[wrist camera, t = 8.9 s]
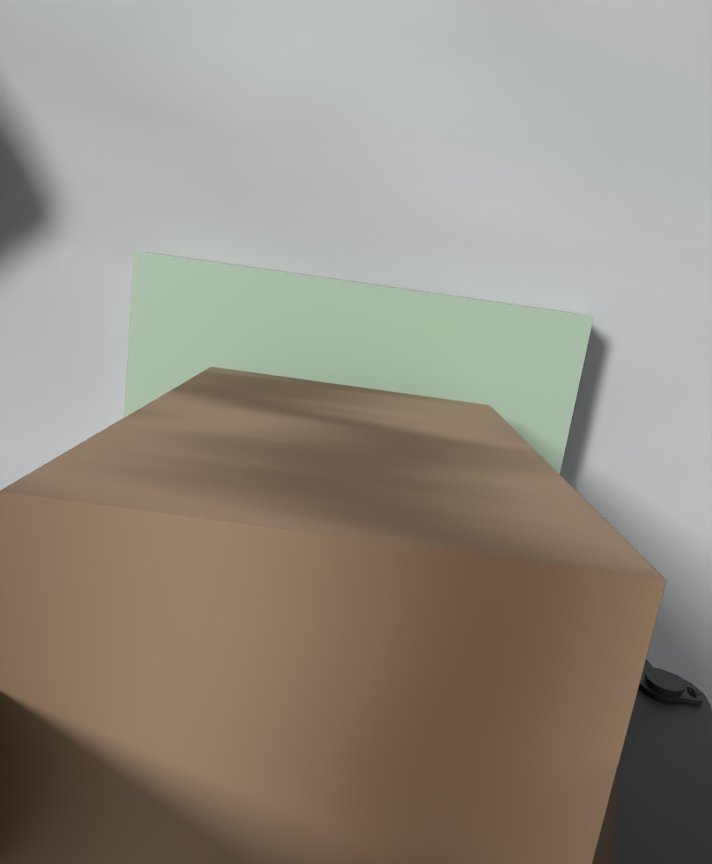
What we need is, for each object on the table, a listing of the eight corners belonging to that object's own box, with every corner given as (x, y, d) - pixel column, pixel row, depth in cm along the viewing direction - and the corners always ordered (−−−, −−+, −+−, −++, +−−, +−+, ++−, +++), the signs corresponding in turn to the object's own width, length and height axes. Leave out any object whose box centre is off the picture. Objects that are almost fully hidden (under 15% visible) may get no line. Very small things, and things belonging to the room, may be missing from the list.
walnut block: (187, 621, 18) (-12, 1016, 8) (210, 366, 17) (-1, 491, 7) (443, 655, 18) (536, 1080, 9) (490, 405, 17) (665, 580, 7)
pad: (122, 644, 21) (107, 666, 20) (149, 252, 18) (134, 251, 17) (499, 693, 21) (507, 717, 20) (578, 314, 19) (593, 316, 18)
